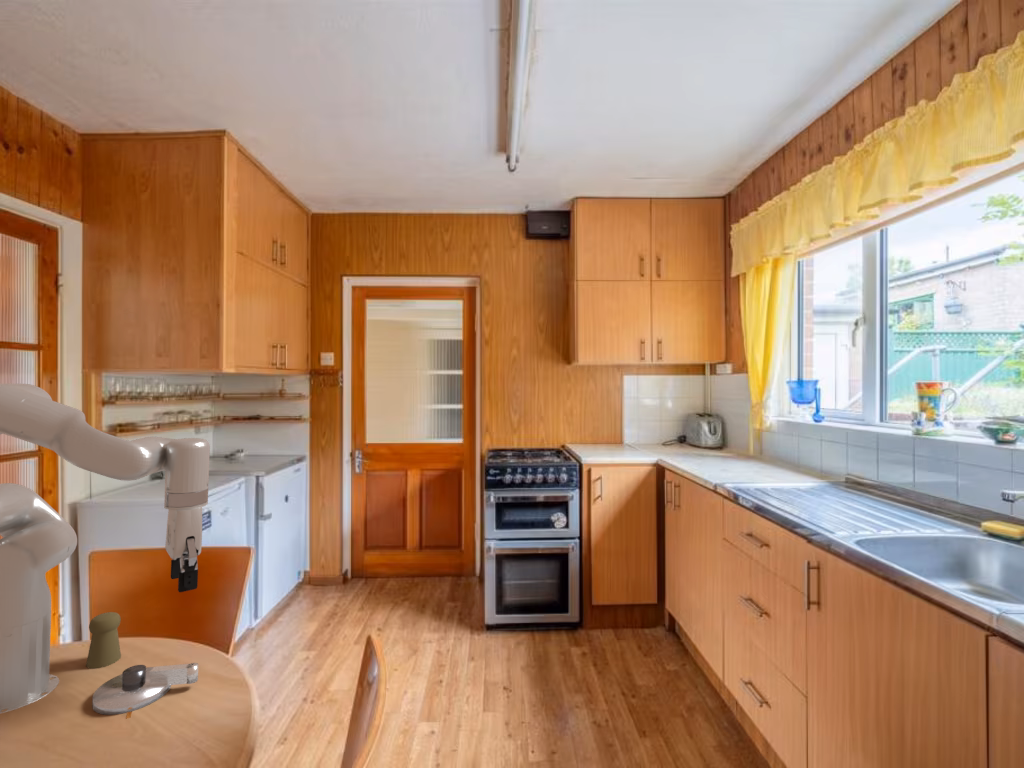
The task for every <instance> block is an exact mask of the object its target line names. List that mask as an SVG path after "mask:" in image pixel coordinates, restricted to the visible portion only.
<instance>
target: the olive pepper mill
mask: <svg viewBox="0 0 1024 768" xmlns="http://www.w3.org/2000/svg"><path fill="white" fill-rule="evenodd" d="M121 619H122V618H121V615H120V614H119V613H118V612H115V611H110V612H104V613H100V614H98V615H96V616H94V617H93V618H92V619H91V620H90V622H89V625H88V630H89V632H90V633H91V639H90V642H89V648H88V654H87V659H86V668H88V669H92V670H93V669H102V668H106V667H108V666H111V665H113V664H115V663H117V662H118V661H119V660H121V658H122V654H121V645H120V639H119V632H118V628H119V626H120V624H121Z"/></svg>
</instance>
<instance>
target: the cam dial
mask: <svg viewBox="0 0 1024 768" xmlns="http://www.w3.org/2000/svg"><path fill="white" fill-rule="evenodd" d="M198 680H199V663H198V662H191V663H183V664H172V665H171V664H170V665H159V666H150V667H147V666H146V665H145V664H136V665H132V666H129V667H127V668H125V669H124V670H123V671H122V673H121V674H119V675H117V676H114V677H112V678H110V679H109V680H107V681H105V682H104V683H103V684H101V685H100V686H99V687H98V688H96V690H95V691H94V693H93V695H92V710H93V711H94V712H96V713H98V714H100V715H106V716H107V715H109V716H112V715H121V714H127V713H128V712H131V711H132V712H134V711H136V710H139V709H142V708H144V707H146V706H148V705H151V704H153V703H154V702H156V701H157V700H159V699H161V698H162V697H164V696H165V695H166V694H167V693H168V692H169V690H171V687H172V686H176V685H185V684H187V685H191V684H194V683H196V682H198Z"/></svg>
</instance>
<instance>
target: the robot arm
mask: <svg viewBox="0 0 1024 768" xmlns="http://www.w3.org/2000/svg"><path fill="white" fill-rule="evenodd" d="M0 435H6V436H10V437H12V438H15V439H18V440H22V441H25V442H28V443H30V444H34V445H37V446H39V447H43V448H46V449H49V450H51V451H53V452H54V453H56V455H58V456H59V457H60V458H61V459H64V460H65V461H67V462H68V463H70V464H71V465H73V466H75V467H77V468H79V469H82V470H86V471H87V472H91V473H93V474H97V475H100V476H104V477H106V478H110V479H112V480H113V479H114V480H118V481H124V482H126V481H127V482H128V481H131V482H132V481H137V480H141V479H143V478H145V477H148V476H150V475H152V474H156V473H159V472H164V471H165V475H164V476H165V477H164V503H163V504H164V505H163V507H164V508H163V509H165V510H168V511H167V512H168V513H167V521H166V534H165V551H166V552H167V554H168V556H169V557H170V560H171V561H170V563H171V564H170V579H171V580H176V579H177V580H178V581H177V583H178V584H177V591H178V593H184V592H188V591H192V590H196V589H197V588H198V583H199V582H198V579H199V567H198V566H199V565H198V556H200V555H201V553H202V544H203V543H202V542H203V507H206V506H207V505H208V504H209V478H210V477H209V475H210V453H211V452H210V449H211V448H210V447H211V446H210V445H211V444H210V442H209V440H207V439H204V438H197V437H196V438H195V437H191V438H190V437H188V438H187V437H185V438H177V439H176V438H169V437H162V436H145V437H142V438H141V437H140V438H137V439H133V440H128V439H124V438H121V437H119V436H116V435H113V434H109V433H107V432H105V431H101V430H99V429H97V428H96V427H93V426H92V425H90V424H89V423H88V422H87V420H86V415H85V412H83V411H82V410H81V409H79V408H76V407H74V406H73V407H72V406H70V405H66V404H64V403H60V402H57V401H55V400H53V399H52V397H51V395H50V394H49V393H48V392H47V391H46V390H44V388H42V387H39V386H36V385H33V384H30V383H29V384H28V383H0ZM0 536H1V537H2V538H0V714H4V713H7V712H11V711H13V710H14V711H15V710H19V709H20V708H23V707H25V706H28V705H30V704H33V703H35V702H37V701H38V700H40V699H43V698H44V697H47V695H49V694H51V693H52V692H53V690H55V689H56V688H57V687H58V685H59V684H60V678H59V677H58V676H57V675H54V674H52V673H51V674H50V662H51V661H50V657H51V656H50V655H51V631H52V630H51V629H52V626H51V625H52V595H51V590H50V586H49V584H48V582H47V578H46V573H47V572H49V571H50V570H51V569H54V568H55V567H57V566H58V565H59V564H61V563H63V562H65V561H66V560H67V559H68V558H70V557H71V556H72V555H73V553H74V552H75V550H76V548H77V545H78V536H77V533H76V531H75V530H74V527H72V526H71V524H70V523H69V522H68V520H66V519H65V518H64V517H62V515H61V514H60V513H59V512H58V511H56V510H55V508H53V507H52V506H51V505H50V504H49V503H48V502H47V501H46V500H45V499H44V498H42V497H41V496H40V495H39V494H38V493H37V492H35V491H34V490H33V489H31V488H29V487H28V486H25V485H24V484H23V485H22V484H19V483H14V482H6V483H5V482H4V483H0ZM44 693H45V694H44Z"/></svg>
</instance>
